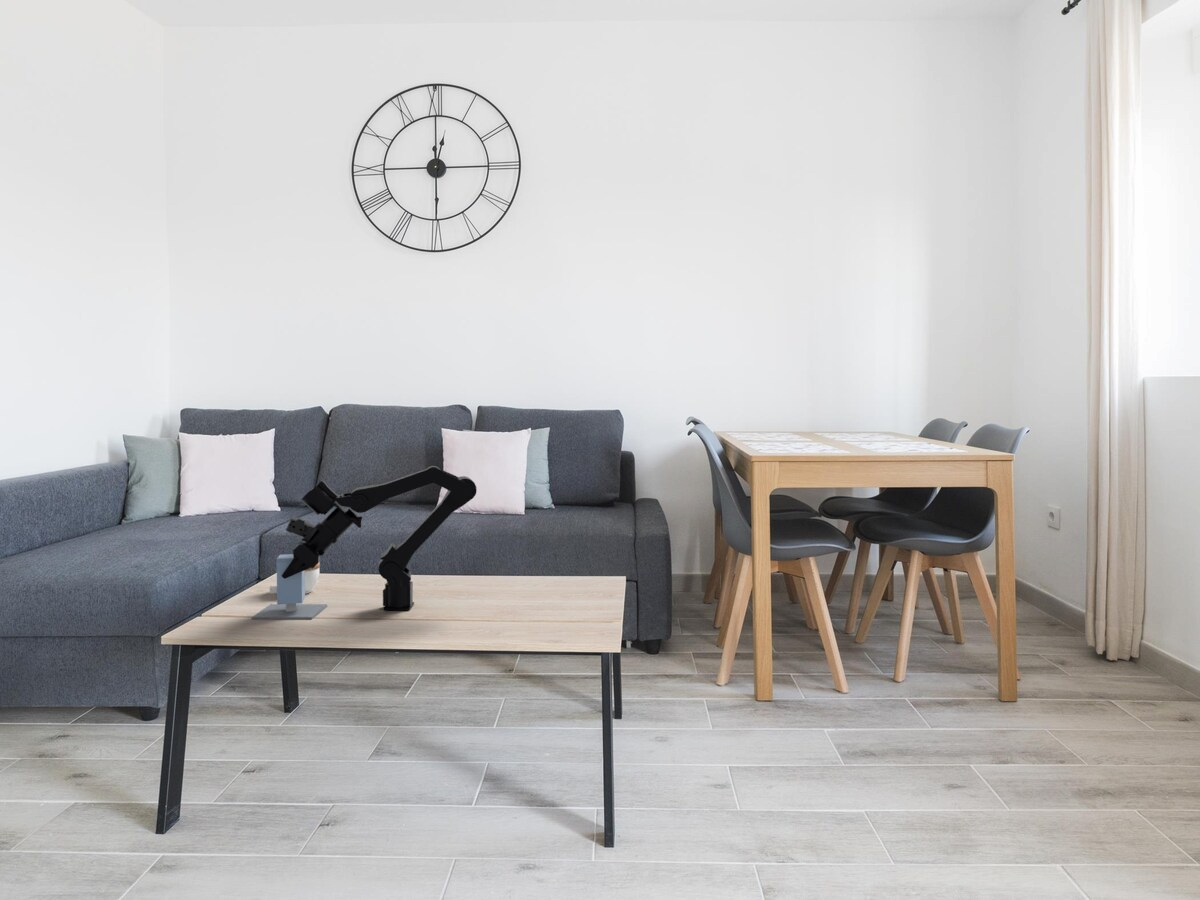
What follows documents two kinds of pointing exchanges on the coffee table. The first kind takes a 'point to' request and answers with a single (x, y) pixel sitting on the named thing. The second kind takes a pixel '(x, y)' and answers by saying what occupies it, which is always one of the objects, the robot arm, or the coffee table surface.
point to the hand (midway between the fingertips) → (284, 574)
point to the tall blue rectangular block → (288, 583)
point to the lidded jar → (311, 578)
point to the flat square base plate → (290, 611)
